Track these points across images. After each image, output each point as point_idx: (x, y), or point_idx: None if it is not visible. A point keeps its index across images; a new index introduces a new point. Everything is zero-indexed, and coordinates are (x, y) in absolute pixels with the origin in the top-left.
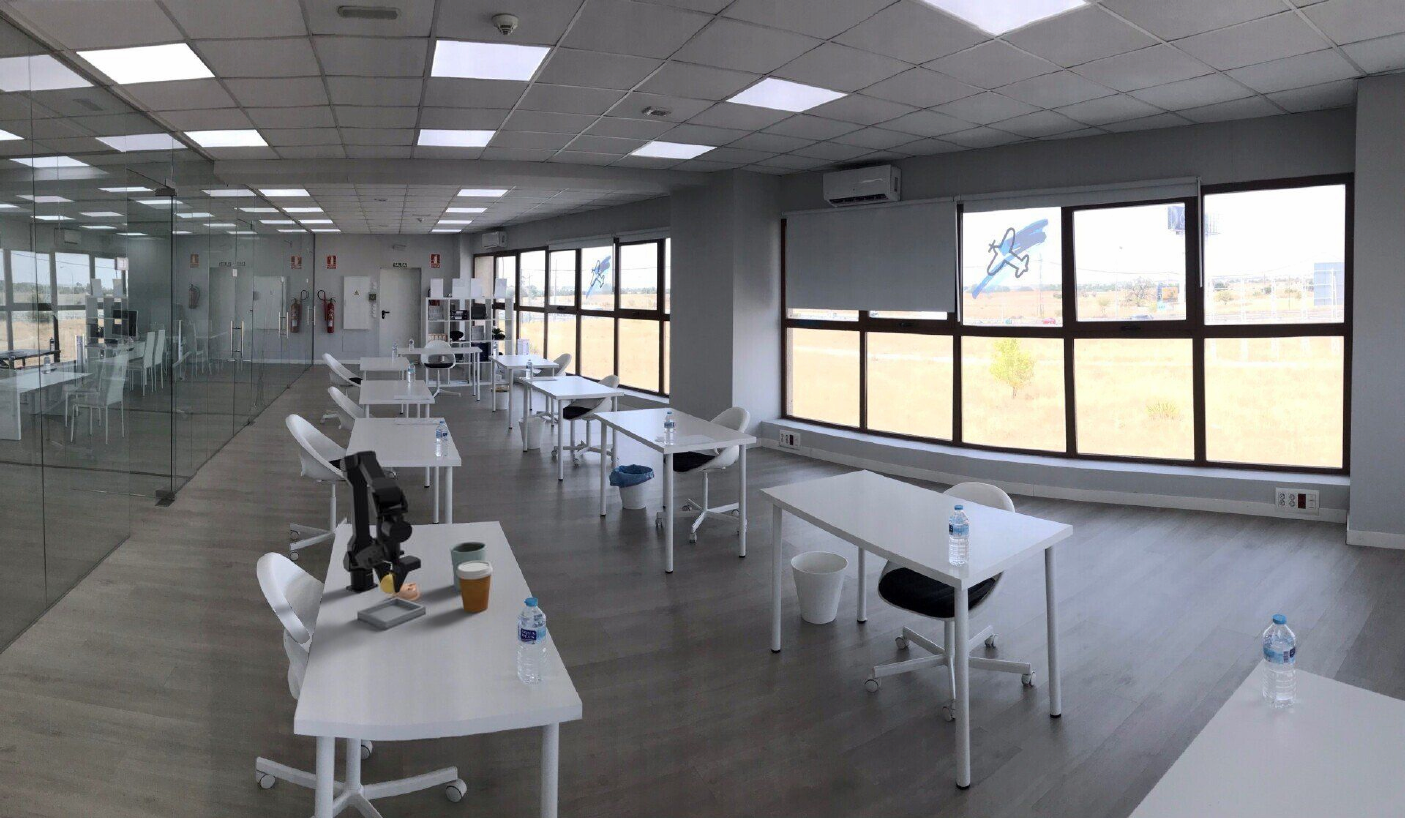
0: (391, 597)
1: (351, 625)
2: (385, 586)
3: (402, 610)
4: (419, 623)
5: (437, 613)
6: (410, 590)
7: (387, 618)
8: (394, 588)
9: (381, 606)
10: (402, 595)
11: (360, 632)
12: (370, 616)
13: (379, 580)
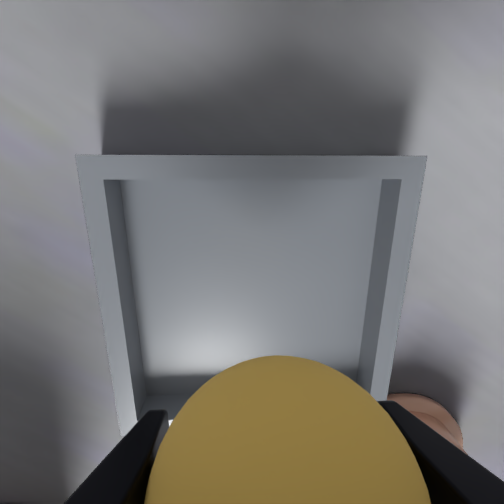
0: (443, 413)
1: (353, 69)
2: (223, 414)
3: (251, 356)
4: (44, 318)
5: (96, 430)
6: None
7: (222, 247)
8: (135, 450)
9: (374, 313)
10: None
11: (202, 27)
12: (265, 155)
13: (489, 480)
